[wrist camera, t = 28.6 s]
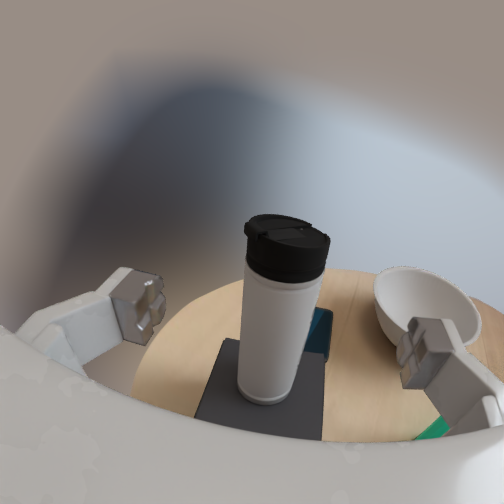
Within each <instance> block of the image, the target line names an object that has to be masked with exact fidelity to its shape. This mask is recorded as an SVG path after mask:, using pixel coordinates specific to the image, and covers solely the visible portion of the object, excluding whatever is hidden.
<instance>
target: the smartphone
mask: <svg viewBox="0 0 504 504" xmlns="http://www.w3.org/2000/svg"><path fill="white" fill-rule="evenodd" d="M332 321H333V312H332V311H331V310H328V309H323V308H319V307H315V311H314V314H313V318H312V322H311V325H310V329H309V332H308V336H307V339H306V343H305V346H304V349H303V351H304V352H311V353H319V354H324V357H325V362H327V360H328V358H329V350H330V341H331V331H332Z"/></svg>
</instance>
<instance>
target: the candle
mask: <svg viewBox="0 0 504 504" xmlns="http://www.w3.org/2000/svg"><path fill="white" fill-rule="evenodd" d="M449 429H450V428H449V426H448V425H447V423H446V422H445V420H444V419H443V417H442V416H440V417H439V418H438V419H437V420H435V421H434V422H433V423H432V424H431V425H430V426H429V427H428V428H427V429H426V430H425V431H424V432H422V433H421V434H420V435H419V436H418V437H417V438H416V440H423V439H432V438H439V437H441V436H442V435H443V434H445V433H446V432H447V431H448V430H449Z"/></svg>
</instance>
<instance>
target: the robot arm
mask: <svg viewBox="0 0 504 504" xmlns="http://www.w3.org/2000/svg"><path fill="white" fill-rule="evenodd" d="M163 287H164V283H163V278H162V277H161V276H160V275H156V274H151V273H148V272H143V271H139V270H134V269H131V268H126V267H120V268H119V269H118V270H117V271H115V272H114V274H113V275H111V276H110V277H109V279H107V280H106V281H105V282H104V283H103V284H102V285H101V286H100V287H99V288H98V289H97V290H96V291H95V292H92V291H90V292H88V293H85V294H82V295H79V296H77V297H74V298H71V299H69V300H66V301H63V302H61V303H58V304H55V305H52V306H50V307H48V308H45V309H42V310H39V311H37V312H35V313H34V314H33V315H32V316H31V317H30V318H29V319H28V320H27V321H26V322H25V323H24V324H23V325H22V326H21V327H20V328H19V329H18V330H17V331H16V332H15V333H14V334H13V333H11V332H10V331H9V330H7V329H6V328H4V327H3V326H2V325H0V504H504V384H503V383H502V382H501V381H500V380H499V379H498V378H497V377H496V376H495V375H494V374H493V373H492V372H491V371H490V370H489V369H488V368H486V367H485V366H484V365H483V364H482V363H481V362H480V361H479V360H478V359H477V358H476V357H474V356H473V355H472V354H471V353H467V351H466V349H465V347H464V344H463V342H462V340H461V338H460V335H459V333H458V331H457V329H456V327H455V325H454V323H453V321H452V320H450V319H442V318H438V319H435V318H424V317H414V316H413V317H412V318H411V319H410V321H409V323H408V325H407V328H408V332H406V333H405V334H403V335H402V336H401V338H400V340H399V342H398V346H397V350H396V357H397V363H398V364H399V365H400V366H401V367H402V370H401V372H400V377H401V382H402V388H403V389H418V390H424V392H425V393H426V395H427V396H428V398H429V399H430V400H431V402H432V403H433V405H434V406H435V407H436V409H437V410H438V412H439V413H440V415H441V416H442V417H443V419H444V420H445V422H446V423H447V425H448V426H449V428H450V429H449V430H448V431H447V432H446V433H445V434H443V435H442V436H441V437H439V438H432V439H423V440H412V441H398V442H332V441H318V440H306V439H297V438H289V437H281V436H274V435H268V434H262V433H256V432H251V431H245V430H240V429H236V428H231V427H227V426H222V425H218V424H214V423H210V422H206V421H202V420H199V419H195V418H192V417H188V416H185V415H181V414H178V413H175V412H172V411H169V410H166V409H163V408H160V407H157V406H154V405H151V404H149V403H146V402H143V401H141V400H138V399H135V398H133V397H130V396H128V395H125V394H123V393H120V392H118V391H116V390H113V389H111V388H109V387H107V386H105V385H102V384H100V383H98V382H96V381H94V380H92V379H90V378H88V377H87V375H86V373H85V371H84V370H83V368H82V366H83V365H84V364H86V363H88V362H89V361H91V360H93V359H94V358H96V357H98V356H99V355H101V354H103V353H104V352H106V351H108V350H109V349H111V348H113V347H114V346H116V345H118V344H119V343H121V342H123V340H126V341H130V342H132V343H136V344H139V345H143V346H146V344H147V343H148V341H149V340H150V338H151V337H152V335H153V333H154V331H153V327H154V326H156V325H158V324H160V323H161V321H162V319H163V317H164V314H165V311H166V299H165V296H164V295H163V293H162V292H161V290H162V289H163Z"/></svg>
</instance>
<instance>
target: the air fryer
mask: <svg viewBox="0 0 504 504" xmlns="http://www.w3.org/2000/svg"><path fill="white" fill-rule="evenodd" d="M239 346H240V340H235V339H230V338H225V340H223V343H222V345H221V348H220V351H219V353H218V356H217V359H216V361H215V364H214V366H213V369H212V372H211V374H210V377H209V380H208V382H207V385H206V387H205V390H204V393H203V395H202V398H201V400H200V403H199V406H198V408H197V411H196V413H195V416H194V418H195V419H199V420H202V421H206V422H210V423H214V424H218V425H222V426H227V427H231V428H236V429H240V430H245V431H251V432H256V433H262V434H268V435H274V436H281V437H289V438H297V439H306V440H318V441H321V439H322V425H323V406H324V379H325V357H324V354H319V353H311V352H304V351H303V353H302V356H301V359H300V362H299V366H298V369H297V372H296V375H295V378H294V381H293V384H292V387H291V390H290V392H289V394H288V396H287V397H286V398H285V399H284V400H282V401H281V402H279V403H276V404H273V405H259V404H255V403H252V402H250V401H248V400H247V399H246V398H244V397H243V396H242V394H241V393H240V391H239V389H238V386H237V378H238V362H239Z"/></svg>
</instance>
